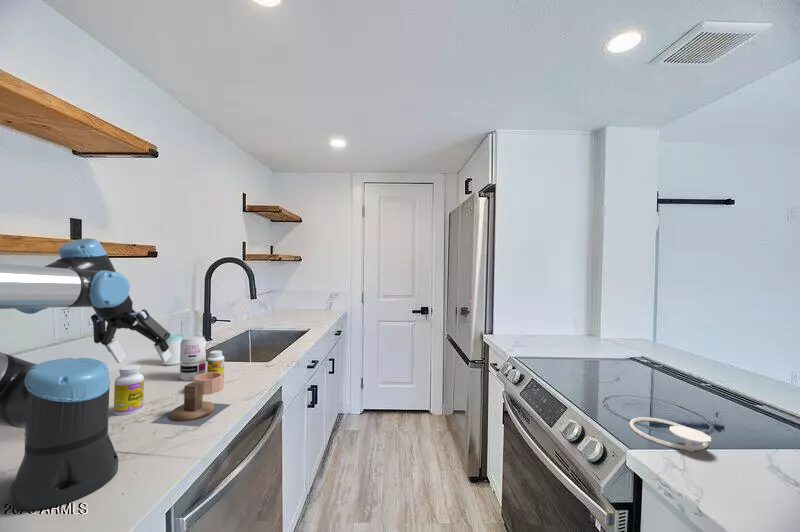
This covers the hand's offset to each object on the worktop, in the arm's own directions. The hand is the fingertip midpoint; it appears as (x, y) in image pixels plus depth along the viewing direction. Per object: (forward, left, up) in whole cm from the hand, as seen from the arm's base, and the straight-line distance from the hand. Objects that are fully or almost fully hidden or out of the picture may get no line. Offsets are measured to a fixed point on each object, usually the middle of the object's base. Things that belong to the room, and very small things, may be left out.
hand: (144, 359), depth 96 cm
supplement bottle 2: (+30, -2, -16) cm, 34 cm away
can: (+44, +27, -16) cm, 54 cm away
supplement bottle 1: (+1, +5, -16) cm, 17 cm away
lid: (+2, -14, -15) cm, 21 cm away
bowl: (+19, -7, -16) cm, 25 cm away
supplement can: (+30, +7, -16) cm, 34 cm away
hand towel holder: (+8, -146, -16) cm, 147 cm away
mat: (+2, -14, -16) cm, 21 cm away
